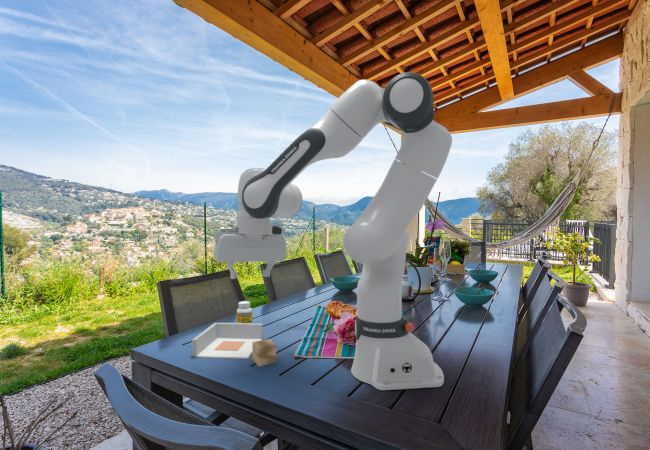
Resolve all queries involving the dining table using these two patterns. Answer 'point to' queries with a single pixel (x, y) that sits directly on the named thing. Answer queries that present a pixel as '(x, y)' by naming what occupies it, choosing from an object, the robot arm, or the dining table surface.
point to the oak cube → (264, 352)
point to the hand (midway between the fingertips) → (250, 277)
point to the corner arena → (227, 340)
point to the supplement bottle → (244, 312)
